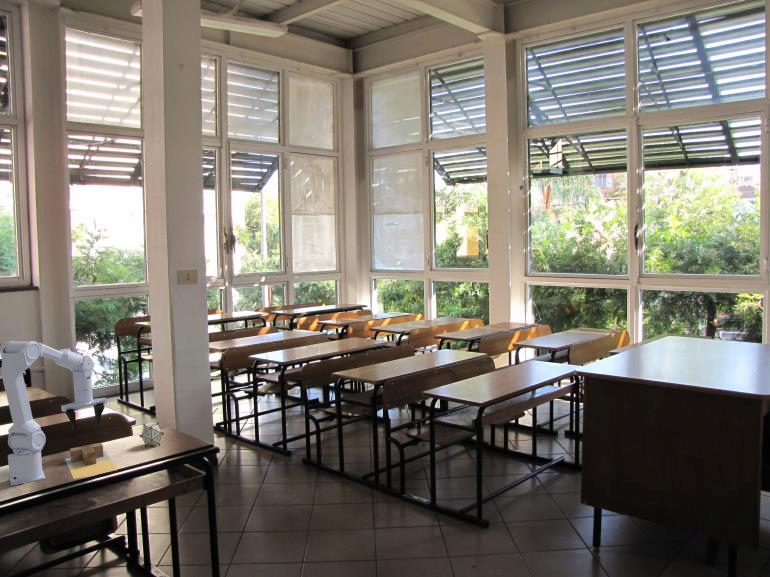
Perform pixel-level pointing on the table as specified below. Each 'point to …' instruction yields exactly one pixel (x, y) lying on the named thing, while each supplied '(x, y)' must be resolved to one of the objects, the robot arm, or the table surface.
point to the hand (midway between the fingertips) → (86, 427)
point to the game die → (151, 434)
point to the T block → (86, 453)
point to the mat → (91, 467)
